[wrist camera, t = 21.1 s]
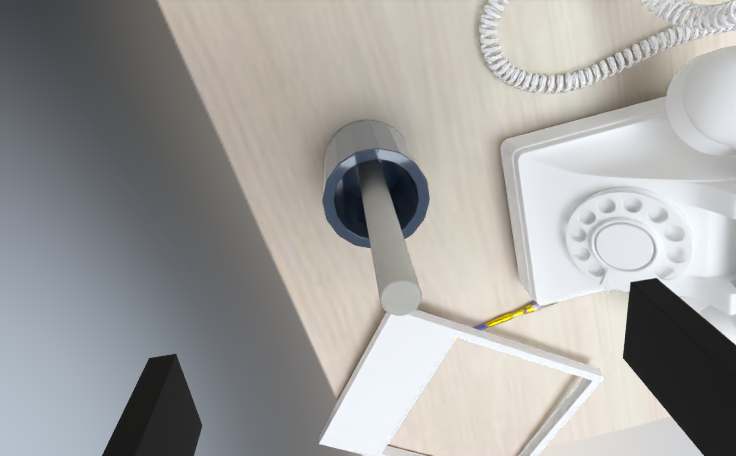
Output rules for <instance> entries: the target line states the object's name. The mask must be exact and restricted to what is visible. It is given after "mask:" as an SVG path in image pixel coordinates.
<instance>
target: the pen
mask: <svg viewBox="0 0 736 456" xmlns="http://www.w3.org/2000/svg"><path fill="white" fill-rule="evenodd" d="M556 303H558V302H556ZM556 303H552V304H548V305H544V306H540V305H538V304H537V302H535V303H533V304H532V303H531V305H530V304H529V305H527V306H525V308H524V307H523V308H524V309H523V308H522V309H521V310H519V311H516V312H514V313H508V314H506V315H504V316H501V317H499V318H497V319H495V320H492V321H490V322H488V323H486V324H484V325H481V326H479V327H477V328H475V329H478V330H482V329H485V328H488V327H491V326H494V325H497V324H500V323H503V322H506V321H508V320H511V319H512V318H513V317H516V316H518V315H521V314H527V313H531V312H534V310H536V311H537V309H539V310H540V308H542V309H543V307H546V306H547V307H548V306H549V305H550V306H551V305H553V304H556ZM456 339H458V338H456Z"/></svg>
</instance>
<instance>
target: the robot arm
mask: <svg viewBox="0 0 736 456" xmlns="http://www.w3.org/2000/svg"><path fill="white" fill-rule="evenodd" d="M623 359H624V360H625V361H626V362H627V363H628V365H629V366H630V367H631V368H632V369H633V371H634V372H635V373H636V374H637V375H638V377H639V378H640V379H641V380H642V382H643V383H644V384H645V385H646V386H647V388H648V389H649V390H650V391H651V392H652V394H653V395H654V396H655V397H656V398H657V400H658V401H659V402H660V403H661V404H662V406H663V407H664V408H665V409H666V410H667V412H668V413H669V414H670V415H671V416H672V418H673V419H674V420H675V421H676V422H677V424H678V425H679V426H680V427H681V428H682V430H683V431H684V432H685V433H686V435H687V436H688V437H689V438H690V439H691V441H692V442H693V443H694V444H695V445H696V447H697V448H698V449H699V450H700V451H701V453H702V454H703V455H704V456H736V345H735V344H734V343H733V342H732V341H731V340H730V339H728V338H727V337H726V336H725V335H724V334H722V333H721V332H720V331H719V330H718V329H716V328H715V327H714V326H713V325H712V324H711V323H709V322H708V321H707V320H706V319H705V318H703V317H702V316H701V315H700V314H699V313H698V312H696V311H695V310H694V309H693V308H692V307H690V306H689V305H688V304H687V303H686V302H684V301H683V300H682V299H681V298H680V297H679V296H677V295H676V294H675V293H674V292H673V291H671V290H670V289H669V288H668V287H667V286H666V285H664V284H663V283H662V282H661V281H660V280H658V279H657V278H653V279H646V280H640V281H634V282H630V292H629V302H628V312H627V322H626V332H625V342H624V353H623ZM201 428H202V424H201V421H200V418H199V415H198V412H197V410H196V407H195V404H194V401H193V399H192V396H191V393H190V390H189V388H188V385H187V382H186V379H185V377H184V374H183V372H182V369H181V366H180V363H179V361H178V358H177V355H176V354H172V355H166V356H160V357H154V358H149V360H148V362H147V364H146V366H145V368H144V370H143V372H142V374H141V376H140V378H139V380H138V382H137V384H136V387H135V389H134V391H133V393H132V395H131V397H130V399H129V401H128V403H127V405H126V407H125V409H124V411H123V414H122V416H121V418H120V420H119V422H118V424H117V426H116V428H115V430H114V432H113V434H112V436H111V438H110V440H109V442H108V444H107V447H106V449H105V451H104V453H103V455H102V456H194V453H195V450H196V446H197V442H198V439H199V435H200V432H201Z"/></svg>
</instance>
